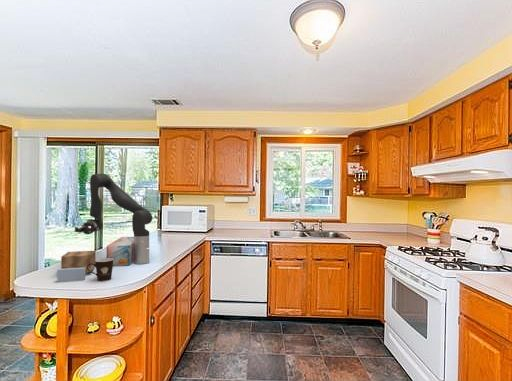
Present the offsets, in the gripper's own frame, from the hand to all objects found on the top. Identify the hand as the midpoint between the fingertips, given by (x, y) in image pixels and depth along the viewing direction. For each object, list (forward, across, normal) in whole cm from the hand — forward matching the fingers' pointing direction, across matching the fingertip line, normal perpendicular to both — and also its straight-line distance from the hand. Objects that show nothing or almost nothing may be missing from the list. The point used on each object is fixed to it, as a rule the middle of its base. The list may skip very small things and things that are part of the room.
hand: (83, 230), depth 185 cm
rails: (+14, 0, +22) cm, 26 cm away
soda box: (-20, +21, +22) cm, 37 cm away
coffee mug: (+28, +14, +22) cm, 39 cm away
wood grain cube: (+10, 0, +20) cm, 23 cm away
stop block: (+26, 0, +22) cm, 34 cm away
